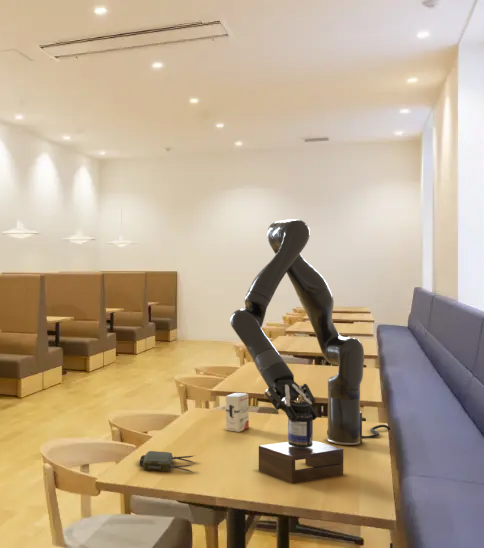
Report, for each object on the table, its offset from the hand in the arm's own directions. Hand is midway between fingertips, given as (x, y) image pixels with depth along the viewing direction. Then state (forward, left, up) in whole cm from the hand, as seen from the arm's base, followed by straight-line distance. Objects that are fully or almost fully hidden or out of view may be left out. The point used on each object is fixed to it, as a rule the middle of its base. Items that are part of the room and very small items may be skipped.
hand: (305, 419), depth 193 cm
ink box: (-20, -50, -15) cm, 56 cm away
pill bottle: (0, -2, -8) cm, 8 cm away
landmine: (+28, -22, -15) cm, 39 cm away
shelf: (0, -2, -15) cm, 15 cm away
